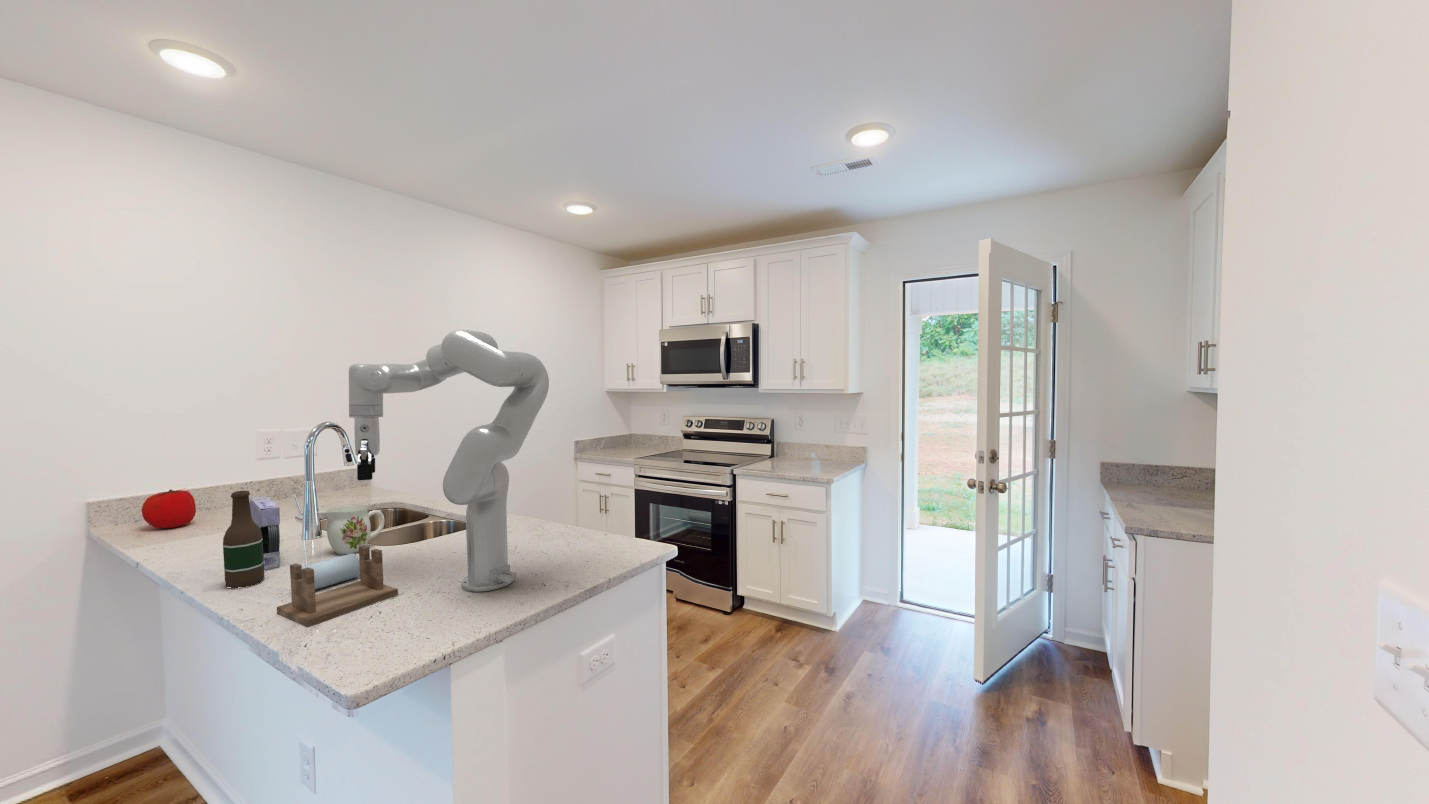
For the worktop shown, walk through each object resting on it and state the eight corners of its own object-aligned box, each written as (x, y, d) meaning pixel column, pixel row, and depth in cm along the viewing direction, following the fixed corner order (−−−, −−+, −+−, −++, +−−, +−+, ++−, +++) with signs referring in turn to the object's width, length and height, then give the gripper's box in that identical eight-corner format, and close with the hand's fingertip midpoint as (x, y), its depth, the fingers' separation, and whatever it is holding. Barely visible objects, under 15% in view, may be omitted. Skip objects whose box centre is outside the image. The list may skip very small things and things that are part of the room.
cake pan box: (283, 568, 151) (280, 505, 150) (260, 573, 147) (256, 508, 146) (271, 553, 164) (268, 495, 163) (249, 557, 160) (246, 498, 159)
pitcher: (393, 545, 170) (391, 502, 169) (327, 562, 155) (325, 514, 155) (376, 539, 176) (375, 498, 176) (311, 555, 161) (309, 509, 161)
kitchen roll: (366, 578, 143) (366, 554, 143) (300, 599, 130) (300, 573, 129) (353, 571, 146) (353, 549, 146) (287, 591, 133) (287, 566, 133)
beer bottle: (241, 578, 143) (236, 488, 142) (272, 577, 144) (267, 487, 143) (216, 590, 135) (211, 495, 134) (250, 588, 136) (244, 494, 135)
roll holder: (398, 594, 131) (396, 550, 130) (307, 627, 114) (305, 575, 114) (366, 584, 138) (364, 541, 137) (277, 613, 121) (274, 565, 121)
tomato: (202, 525, 197) (200, 488, 197) (149, 535, 186) (146, 495, 185) (188, 519, 206) (186, 484, 205) (136, 528, 194) (134, 491, 193)
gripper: (381, 414, 135) (381, 481, 136) (384, 408, 150) (385, 469, 151) (344, 414, 132) (345, 483, 133) (352, 409, 147) (353, 471, 148)
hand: (366, 476), depth 142 cm, fingers open, 9 cm apart
